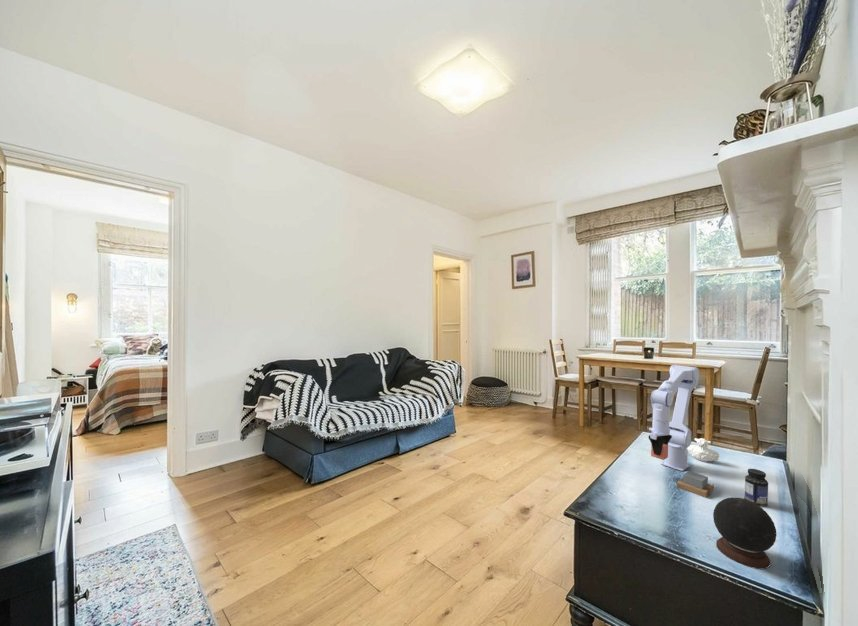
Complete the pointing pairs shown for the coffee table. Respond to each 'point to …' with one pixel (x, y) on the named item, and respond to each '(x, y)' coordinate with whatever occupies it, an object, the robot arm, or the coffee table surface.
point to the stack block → (663, 453)
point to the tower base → (695, 488)
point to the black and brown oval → (744, 531)
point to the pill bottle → (756, 487)
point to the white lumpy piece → (703, 451)
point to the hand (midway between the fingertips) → (659, 453)
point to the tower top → (695, 479)
